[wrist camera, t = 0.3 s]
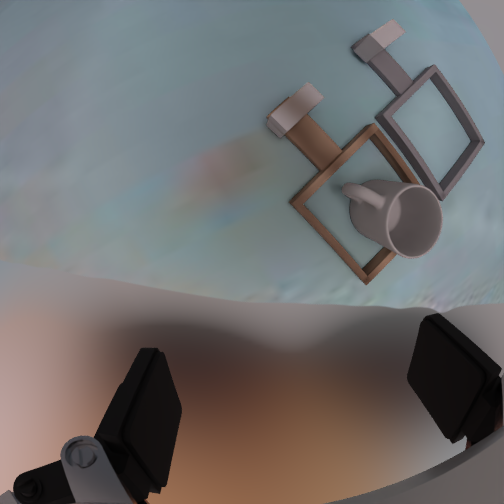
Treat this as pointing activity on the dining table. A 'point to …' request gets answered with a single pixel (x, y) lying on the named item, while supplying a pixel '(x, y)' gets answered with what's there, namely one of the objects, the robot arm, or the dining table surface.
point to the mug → (396, 215)
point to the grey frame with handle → (404, 88)
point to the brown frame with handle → (330, 164)
